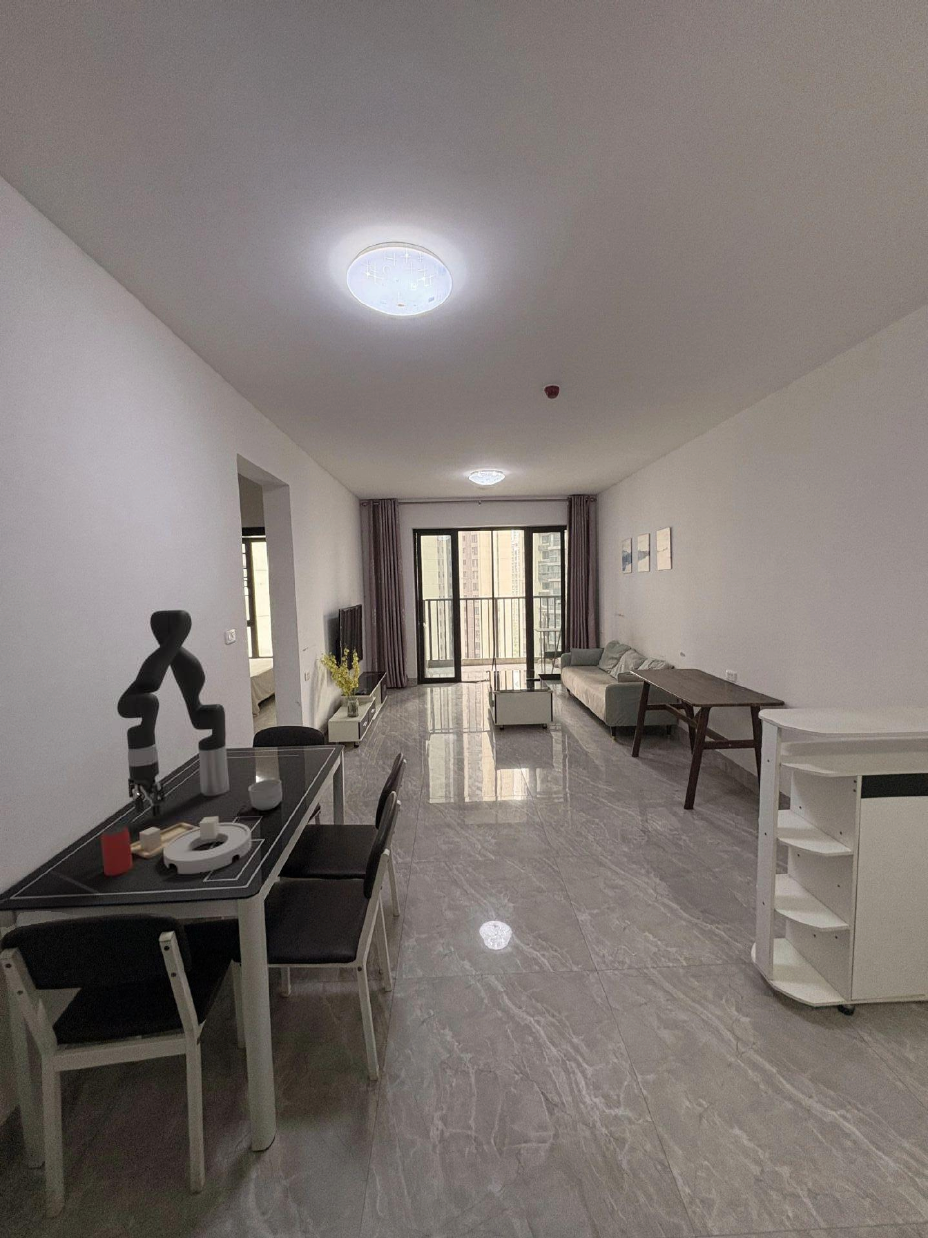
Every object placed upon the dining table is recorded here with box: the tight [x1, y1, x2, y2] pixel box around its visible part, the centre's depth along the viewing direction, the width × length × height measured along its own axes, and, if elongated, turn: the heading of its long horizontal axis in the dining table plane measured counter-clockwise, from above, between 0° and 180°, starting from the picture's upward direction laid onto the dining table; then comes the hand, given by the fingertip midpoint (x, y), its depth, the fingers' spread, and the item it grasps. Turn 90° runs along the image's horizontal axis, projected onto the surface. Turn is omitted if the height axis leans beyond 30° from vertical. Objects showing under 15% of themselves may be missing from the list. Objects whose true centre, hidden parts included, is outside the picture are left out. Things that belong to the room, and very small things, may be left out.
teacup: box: [247, 777, 283, 811], centre depth 192 cm, size 14×11×8 cm
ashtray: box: [162, 822, 253, 875], centre depth 160 cm, size 23×23×4 cm
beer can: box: [101, 824, 133, 876], centre depth 151 cm, size 7×7×12 cm
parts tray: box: [130, 821, 199, 859], centre depth 167 cm, size 12×18×1 cm, turn 150°
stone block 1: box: [139, 826, 162, 851], centre depth 163 cm, size 4×4×5 cm
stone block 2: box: [198, 815, 220, 840], centre depth 162 cm, size 4×4×5 cm
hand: (148, 814), depth 163 cm, fingers open, 8 cm apart
